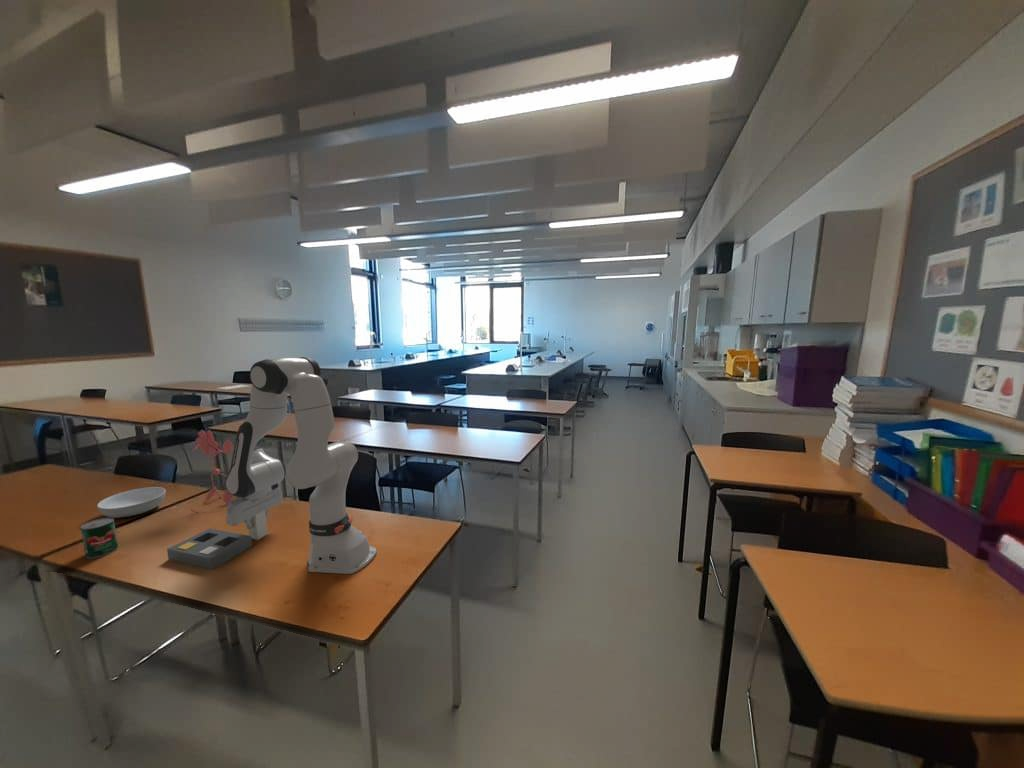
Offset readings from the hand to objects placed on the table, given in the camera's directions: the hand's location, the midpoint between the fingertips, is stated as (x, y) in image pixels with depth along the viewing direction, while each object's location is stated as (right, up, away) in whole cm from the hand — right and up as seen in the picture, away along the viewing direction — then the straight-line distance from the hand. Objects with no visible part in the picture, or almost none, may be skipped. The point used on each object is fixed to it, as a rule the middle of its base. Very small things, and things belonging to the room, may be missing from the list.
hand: (257, 524), depth 142 cm
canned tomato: (-49, -6, -10) cm, 50 cm away
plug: (0, -5, +1) cm, 5 cm away
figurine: (-38, -1, +27) cm, 47 cm away
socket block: (-9, -6, -10) cm, 15 cm away
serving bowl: (-67, -2, +20) cm, 70 cm away
